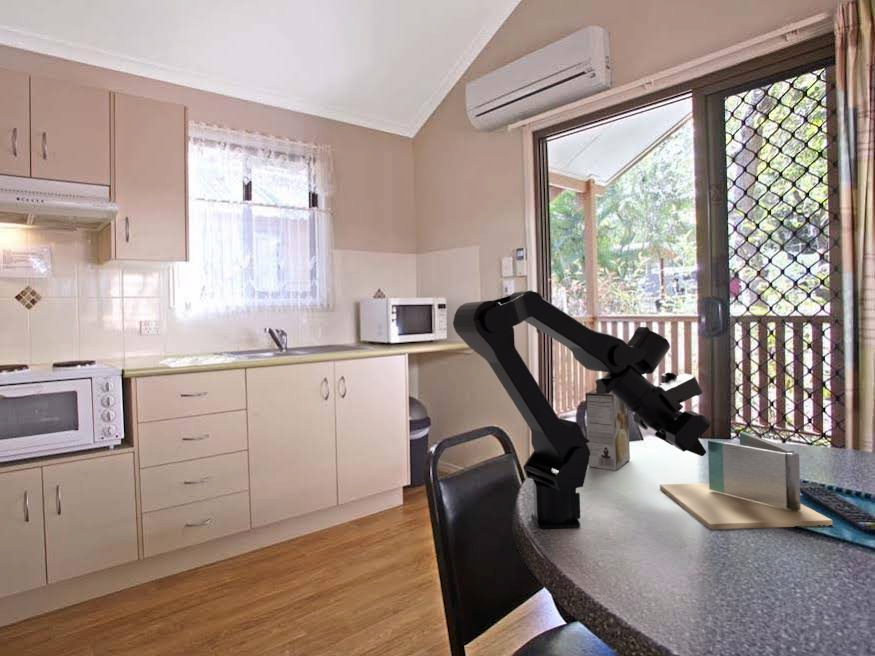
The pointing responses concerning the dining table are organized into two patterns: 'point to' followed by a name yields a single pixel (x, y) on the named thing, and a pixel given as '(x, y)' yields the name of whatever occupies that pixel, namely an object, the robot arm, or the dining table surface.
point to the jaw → (755, 474)
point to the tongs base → (740, 502)
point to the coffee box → (607, 431)
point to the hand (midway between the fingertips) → (703, 453)
